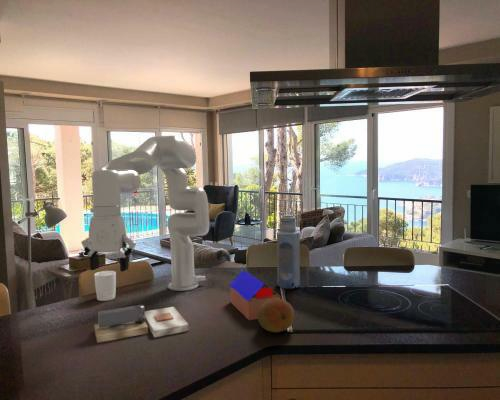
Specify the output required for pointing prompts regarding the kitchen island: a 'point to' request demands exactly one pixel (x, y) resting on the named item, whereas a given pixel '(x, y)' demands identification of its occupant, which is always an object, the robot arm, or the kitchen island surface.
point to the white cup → (105, 285)
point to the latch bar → (121, 316)
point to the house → (250, 294)
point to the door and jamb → (145, 326)
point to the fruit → (276, 315)
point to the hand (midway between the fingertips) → (109, 269)
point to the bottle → (288, 253)
